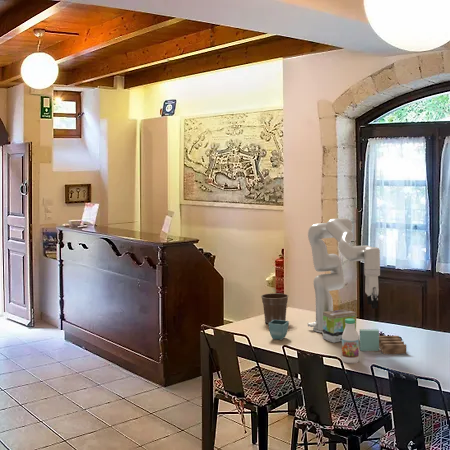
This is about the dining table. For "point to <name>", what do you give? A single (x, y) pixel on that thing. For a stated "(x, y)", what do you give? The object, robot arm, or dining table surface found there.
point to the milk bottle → (350, 342)
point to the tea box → (336, 324)
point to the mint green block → (369, 340)
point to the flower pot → (278, 329)
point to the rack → (391, 345)
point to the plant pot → (274, 306)
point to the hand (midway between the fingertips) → (372, 306)
